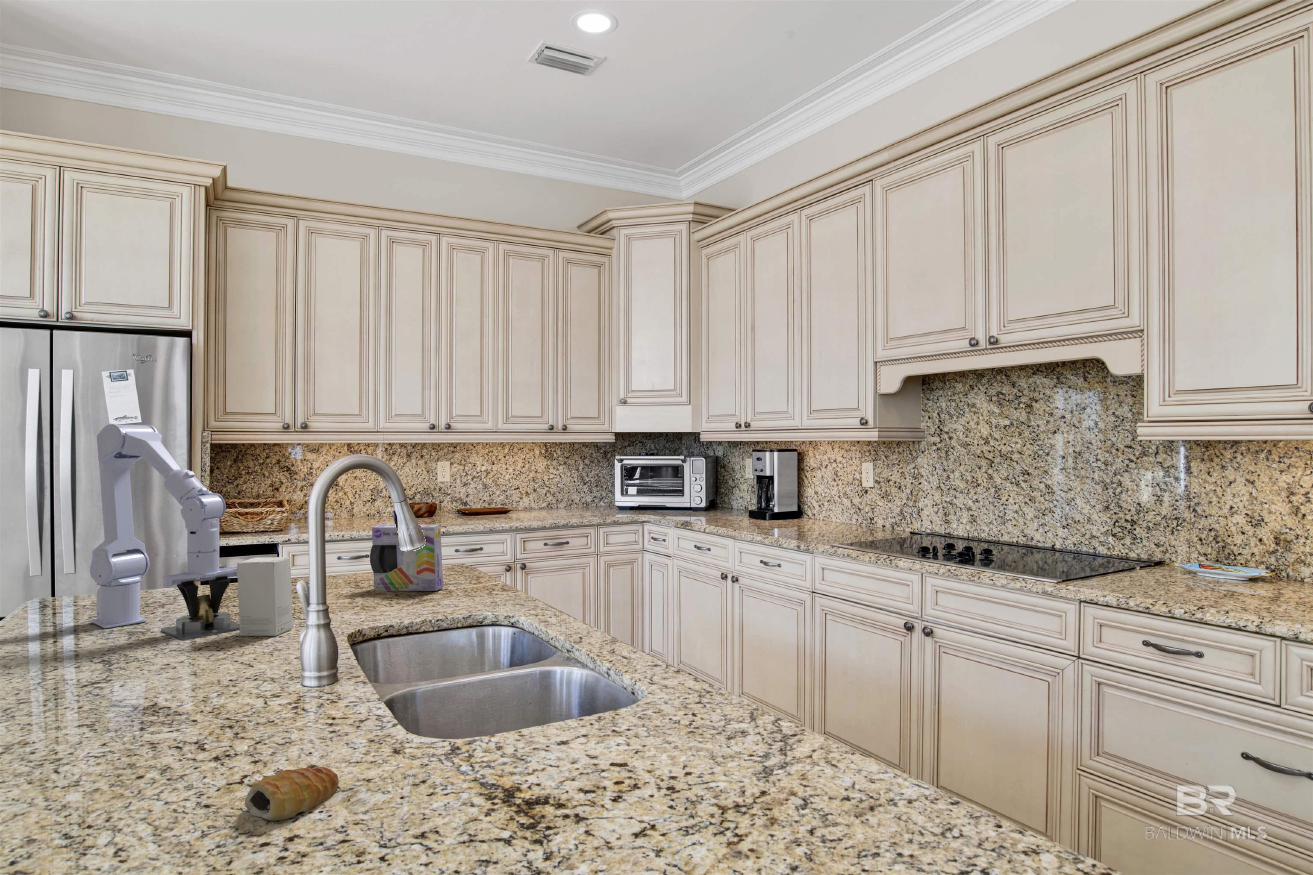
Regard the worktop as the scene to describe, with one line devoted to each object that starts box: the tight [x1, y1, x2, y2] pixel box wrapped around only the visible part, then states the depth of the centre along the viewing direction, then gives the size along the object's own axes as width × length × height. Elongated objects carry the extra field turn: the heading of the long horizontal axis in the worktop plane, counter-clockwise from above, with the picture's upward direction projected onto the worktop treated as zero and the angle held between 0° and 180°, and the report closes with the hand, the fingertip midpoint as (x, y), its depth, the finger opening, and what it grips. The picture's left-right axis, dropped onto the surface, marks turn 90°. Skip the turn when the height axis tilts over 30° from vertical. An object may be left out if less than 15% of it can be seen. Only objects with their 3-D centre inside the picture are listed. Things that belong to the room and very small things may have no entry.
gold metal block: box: [193, 594, 214, 624], centre depth 158 cm, size 5×4×6 cm
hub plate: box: [160, 611, 240, 641], centre depth 158 cm, size 12×12×3 cm
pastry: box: [244, 766, 340, 822], centre depth 83 cm, size 9×7×4 cm
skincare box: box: [236, 556, 294, 637], centre depth 155 cm, size 8×7×16 cm
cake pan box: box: [369, 523, 444, 592], centre depth 200 cm, size 19×5×18 cm, turn 80°
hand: (203, 614), depth 158 cm, fingers closed on gold metal block, 3 cm apart
